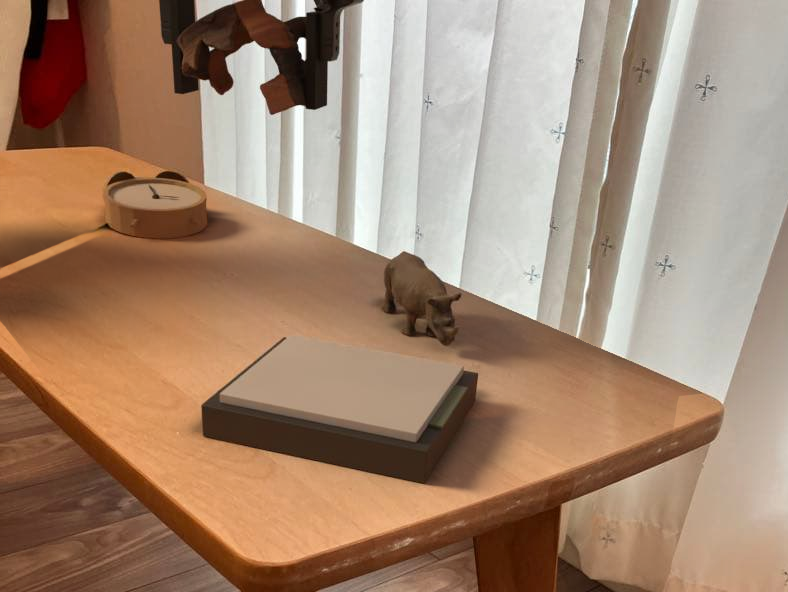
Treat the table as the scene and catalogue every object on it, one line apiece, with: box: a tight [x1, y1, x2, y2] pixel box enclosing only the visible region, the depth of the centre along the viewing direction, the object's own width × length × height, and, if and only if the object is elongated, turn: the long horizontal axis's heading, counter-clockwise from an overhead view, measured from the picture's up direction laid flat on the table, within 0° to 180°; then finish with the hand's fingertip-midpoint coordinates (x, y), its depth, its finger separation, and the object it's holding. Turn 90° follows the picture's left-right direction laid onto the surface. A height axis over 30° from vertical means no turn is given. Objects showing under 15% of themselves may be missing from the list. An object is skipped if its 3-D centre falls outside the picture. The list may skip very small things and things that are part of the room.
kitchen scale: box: [200, 333, 479, 484], centre depth 68 cm, size 16×14×3 cm
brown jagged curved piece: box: [177, 0, 306, 116], centre depth 74 cm, size 12×10×8 cm
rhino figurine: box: [380, 250, 462, 347], centre depth 83 cm, size 4×14×6 cm, turn 21°
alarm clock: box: [101, 169, 208, 239], centre depth 108 cm, size 11×5×15 cm
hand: (250, 99), depth 75 cm, fingers closed on brown jagged curved piece, 10 cm apart
